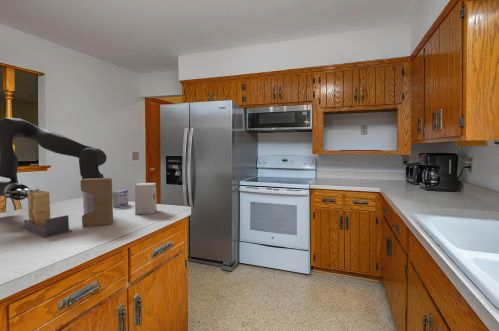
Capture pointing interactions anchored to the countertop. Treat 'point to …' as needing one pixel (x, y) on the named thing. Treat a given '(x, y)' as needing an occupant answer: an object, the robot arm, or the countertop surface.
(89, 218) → the decorative block
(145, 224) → the countertop surface
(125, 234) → the countertop surface
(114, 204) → the medicine box
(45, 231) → the metal track
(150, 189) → the supplement box
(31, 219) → the slider block
